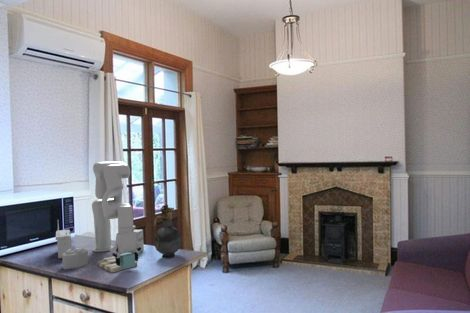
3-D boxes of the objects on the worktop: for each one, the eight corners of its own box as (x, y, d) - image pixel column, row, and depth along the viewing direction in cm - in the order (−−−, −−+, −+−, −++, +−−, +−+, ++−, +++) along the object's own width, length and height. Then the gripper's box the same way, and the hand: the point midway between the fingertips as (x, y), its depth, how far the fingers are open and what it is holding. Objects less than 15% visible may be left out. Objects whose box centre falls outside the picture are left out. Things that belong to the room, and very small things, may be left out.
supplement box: (138, 253, 219) (137, 232, 219) (127, 252, 220) (126, 231, 220) (144, 249, 226) (143, 229, 226) (133, 249, 227) (132, 229, 227)
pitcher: (184, 253, 214) (182, 202, 213) (163, 263, 197) (161, 207, 196) (169, 251, 219) (167, 201, 218) (148, 261, 202) (145, 206, 201)
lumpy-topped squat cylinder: (91, 262, 203) (90, 247, 203) (71, 270, 191) (70, 253, 191) (77, 260, 207) (77, 245, 207) (57, 267, 196) (56, 251, 196)
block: (119, 266, 187) (119, 255, 186) (130, 263, 191) (130, 252, 190) (124, 268, 183) (123, 256, 183) (135, 265, 187) (134, 254, 187)
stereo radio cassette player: (72, 257, 214) (70, 223, 214) (56, 259, 211) (54, 225, 211) (71, 249, 233) (69, 218, 233) (56, 251, 230) (55, 219, 229)
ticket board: (97, 264, 198) (97, 259, 198) (122, 259, 207) (122, 253, 207) (111, 272, 185) (111, 266, 185) (137, 265, 194) (136, 260, 194)
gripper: (138, 225, 195) (139, 257, 195) (106, 231, 183) (107, 265, 184) (144, 227, 189) (146, 260, 190) (112, 233, 178) (114, 268, 178)
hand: (127, 263), depth 187 cm, fingers open, 9 cm apart
